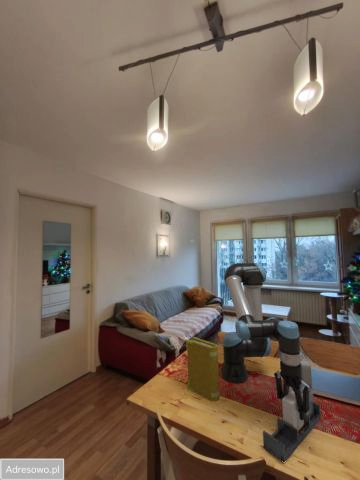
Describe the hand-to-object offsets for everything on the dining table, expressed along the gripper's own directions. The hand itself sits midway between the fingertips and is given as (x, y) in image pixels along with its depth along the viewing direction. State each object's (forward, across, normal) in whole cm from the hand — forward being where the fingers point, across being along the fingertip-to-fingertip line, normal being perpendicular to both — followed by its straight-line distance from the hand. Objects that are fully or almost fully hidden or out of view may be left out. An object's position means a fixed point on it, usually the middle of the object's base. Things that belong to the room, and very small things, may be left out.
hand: (293, 423), depth 85 cm
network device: (+4, -10, +26) cm, 29 cm away
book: (+4, -40, -10) cm, 42 cm away
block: (+1, 0, 0) cm, 1 cm away
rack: (+3, 0, 0) cm, 3 cm away
